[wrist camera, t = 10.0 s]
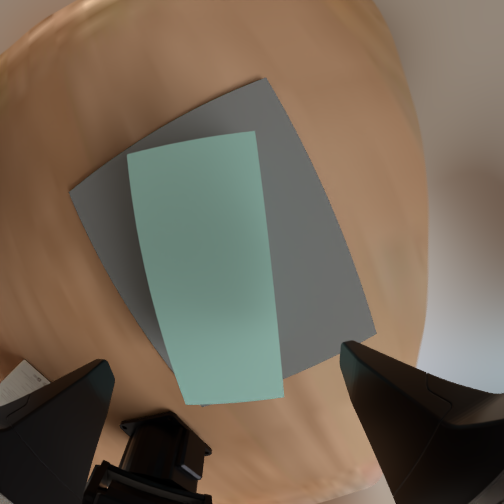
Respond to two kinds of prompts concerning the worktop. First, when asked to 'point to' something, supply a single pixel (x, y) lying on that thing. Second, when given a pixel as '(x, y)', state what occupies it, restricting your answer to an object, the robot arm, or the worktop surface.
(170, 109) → the worktop surface
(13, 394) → the small box
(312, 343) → the mat
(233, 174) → the teal block
